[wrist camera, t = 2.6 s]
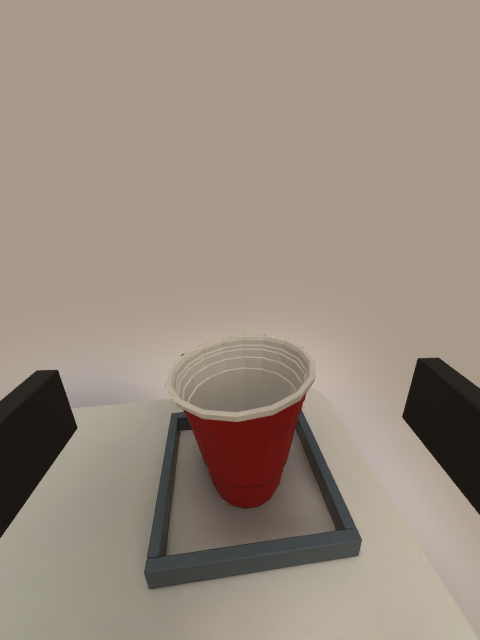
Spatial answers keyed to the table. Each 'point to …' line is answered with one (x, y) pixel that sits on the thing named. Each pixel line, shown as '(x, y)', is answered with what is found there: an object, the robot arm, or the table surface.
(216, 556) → the grey square frame
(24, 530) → the table surface
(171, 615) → the table surface
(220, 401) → the plastic cup
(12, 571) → the table surface
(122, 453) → the table surface
